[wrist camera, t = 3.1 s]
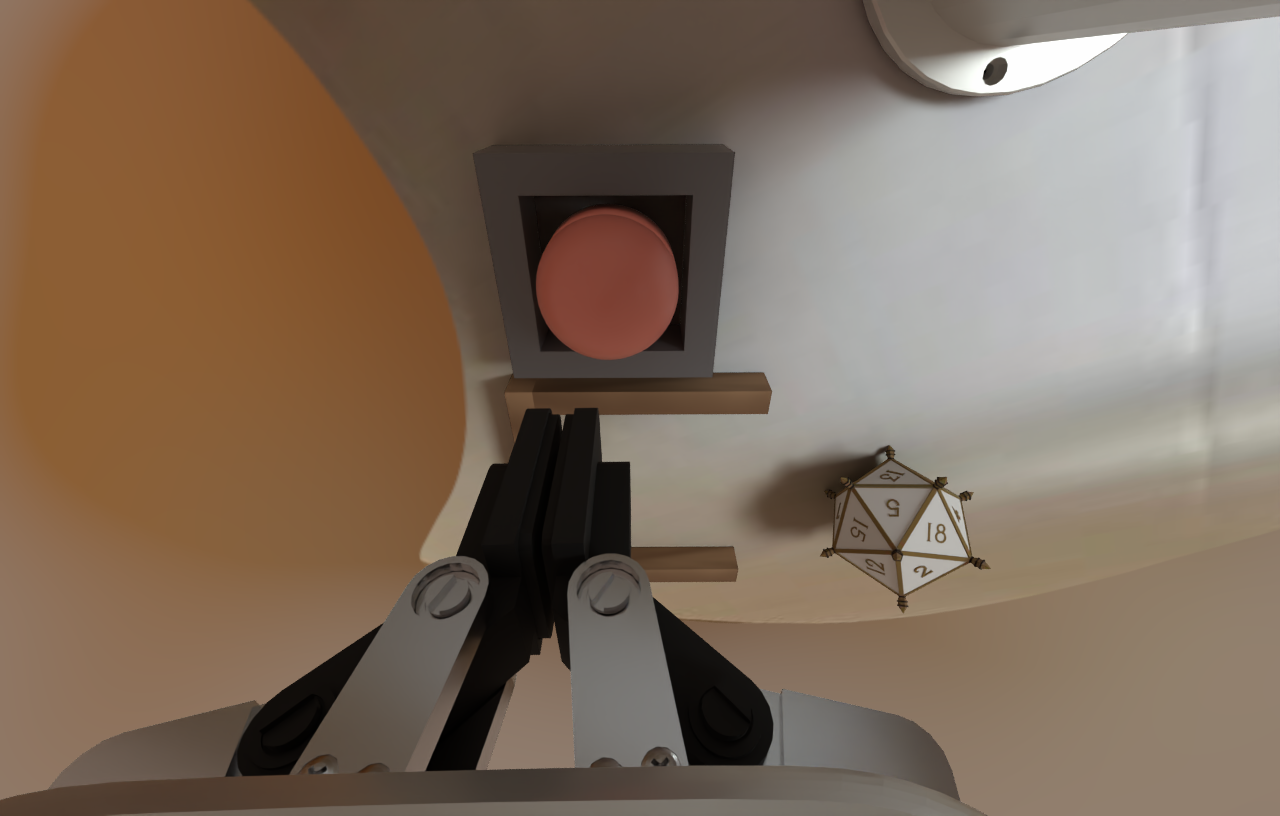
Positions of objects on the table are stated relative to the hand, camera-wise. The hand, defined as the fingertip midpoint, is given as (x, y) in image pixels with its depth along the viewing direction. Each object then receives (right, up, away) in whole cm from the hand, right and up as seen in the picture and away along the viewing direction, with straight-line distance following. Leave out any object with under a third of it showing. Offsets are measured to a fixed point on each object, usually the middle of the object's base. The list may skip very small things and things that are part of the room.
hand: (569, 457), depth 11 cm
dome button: (0, +9, +12) cm, 14 cm away
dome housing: (0, +9, +12) cm, 14 cm away
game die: (+17, -4, +20) cm, 27 cm away
